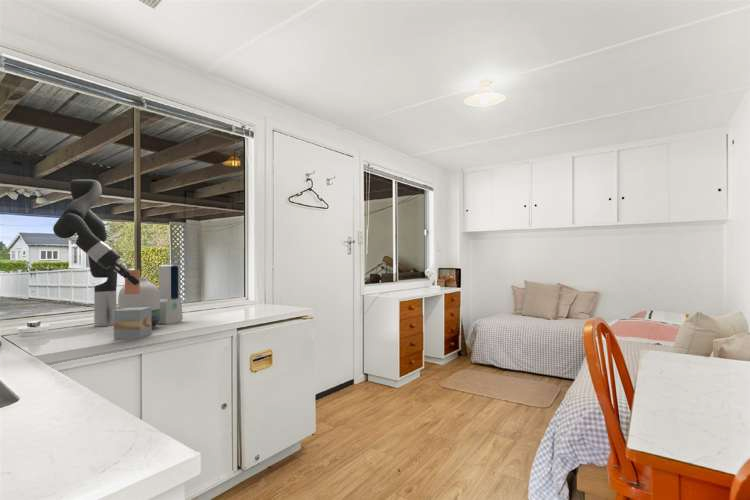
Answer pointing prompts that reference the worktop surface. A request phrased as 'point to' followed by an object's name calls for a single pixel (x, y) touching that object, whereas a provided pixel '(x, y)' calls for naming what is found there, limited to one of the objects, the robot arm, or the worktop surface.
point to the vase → (142, 299)
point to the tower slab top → (132, 313)
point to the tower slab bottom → (132, 333)
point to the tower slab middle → (132, 324)
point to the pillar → (129, 286)
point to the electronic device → (169, 294)
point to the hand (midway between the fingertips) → (137, 283)
